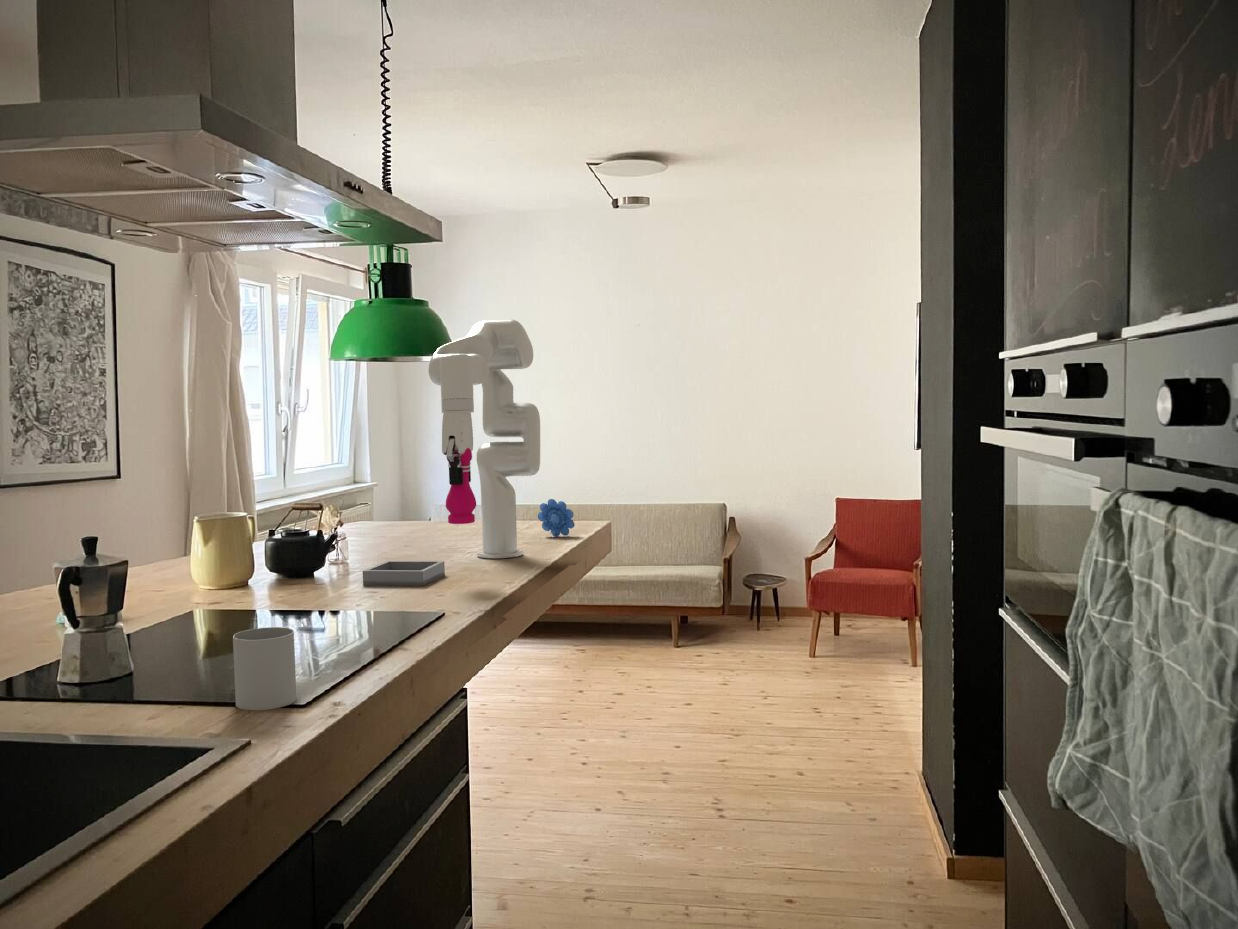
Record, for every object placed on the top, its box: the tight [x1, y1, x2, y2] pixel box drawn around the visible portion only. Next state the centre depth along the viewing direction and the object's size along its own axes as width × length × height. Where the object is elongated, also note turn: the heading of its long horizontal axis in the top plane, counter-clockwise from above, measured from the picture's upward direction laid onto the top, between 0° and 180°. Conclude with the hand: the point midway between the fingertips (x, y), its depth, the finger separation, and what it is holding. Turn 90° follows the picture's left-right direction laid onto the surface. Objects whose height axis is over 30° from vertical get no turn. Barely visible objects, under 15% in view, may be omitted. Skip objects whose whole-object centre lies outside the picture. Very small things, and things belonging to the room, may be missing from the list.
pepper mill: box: [445, 448, 477, 525], centre depth 244 cm, size 7×7×20 cm
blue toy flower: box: [537, 498, 575, 537], centre depth 324 cm, size 12×7×12 cm, turn 86°
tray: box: [362, 560, 446, 587], centre depth 251 cm, size 15×15×4 cm
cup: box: [232, 626, 297, 711], centre depth 150 cm, size 8×8×10 cm
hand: (460, 482), depth 244 cm, fingers closed on pepper mill, 5 cm apart
